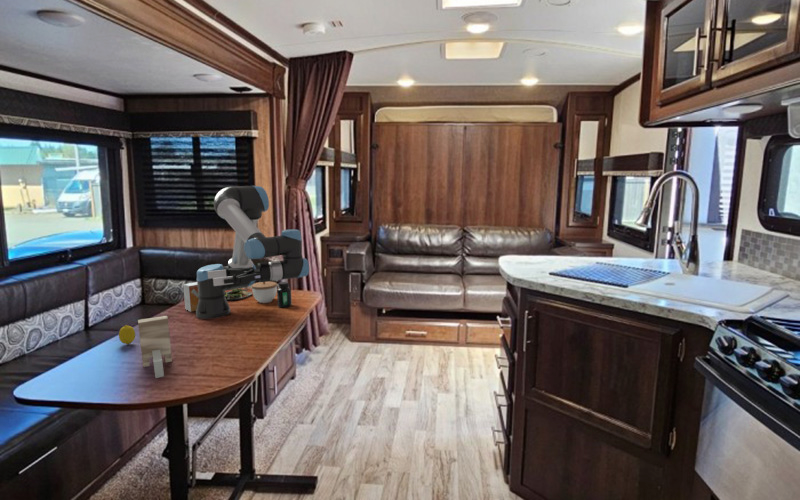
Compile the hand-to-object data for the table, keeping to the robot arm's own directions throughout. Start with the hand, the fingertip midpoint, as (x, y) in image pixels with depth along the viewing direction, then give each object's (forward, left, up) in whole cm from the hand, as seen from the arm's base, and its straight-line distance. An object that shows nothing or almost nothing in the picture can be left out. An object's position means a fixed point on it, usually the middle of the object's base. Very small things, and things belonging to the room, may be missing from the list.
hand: (210, 278), depth 166 cm
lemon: (-26, -29, -28) cm, 48 cm away
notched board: (0, -20, -28) cm, 34 cm away
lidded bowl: (-60, +33, -28) cm, 74 cm away
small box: (-64, 0, -28) cm, 70 cm away
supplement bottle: (-45, +39, -28) cm, 66 cm away
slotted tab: (0, -20, -28) cm, 34 cm away
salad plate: (-78, +20, -29) cm, 86 cm away
